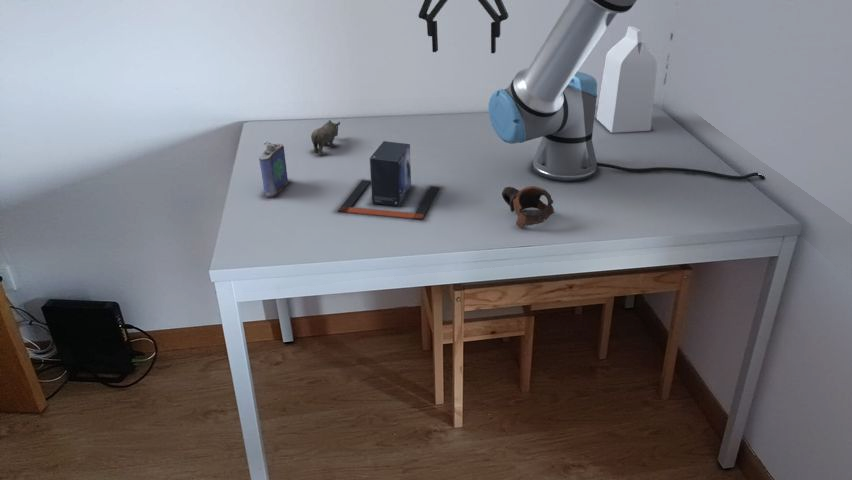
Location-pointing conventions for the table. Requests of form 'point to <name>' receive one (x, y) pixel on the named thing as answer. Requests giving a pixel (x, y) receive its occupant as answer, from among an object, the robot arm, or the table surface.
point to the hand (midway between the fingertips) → (464, 52)
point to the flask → (273, 169)
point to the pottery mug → (528, 204)
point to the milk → (628, 85)
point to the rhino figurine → (324, 136)
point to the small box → (390, 173)
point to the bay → (418, 215)
